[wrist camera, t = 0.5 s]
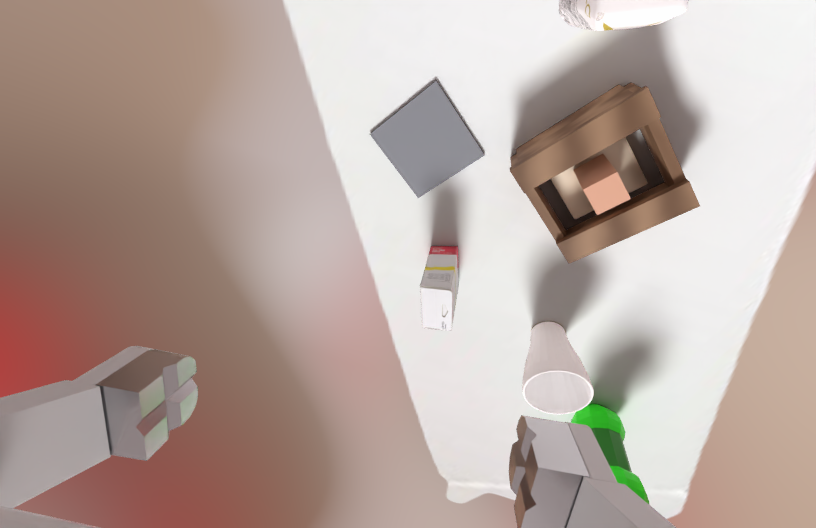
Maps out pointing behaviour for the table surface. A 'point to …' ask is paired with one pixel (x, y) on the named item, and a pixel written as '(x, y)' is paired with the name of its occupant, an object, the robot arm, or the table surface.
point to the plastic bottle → (611, 443)
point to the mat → (427, 141)
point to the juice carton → (619, 13)
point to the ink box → (439, 288)
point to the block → (601, 184)
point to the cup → (555, 372)
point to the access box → (606, 134)
